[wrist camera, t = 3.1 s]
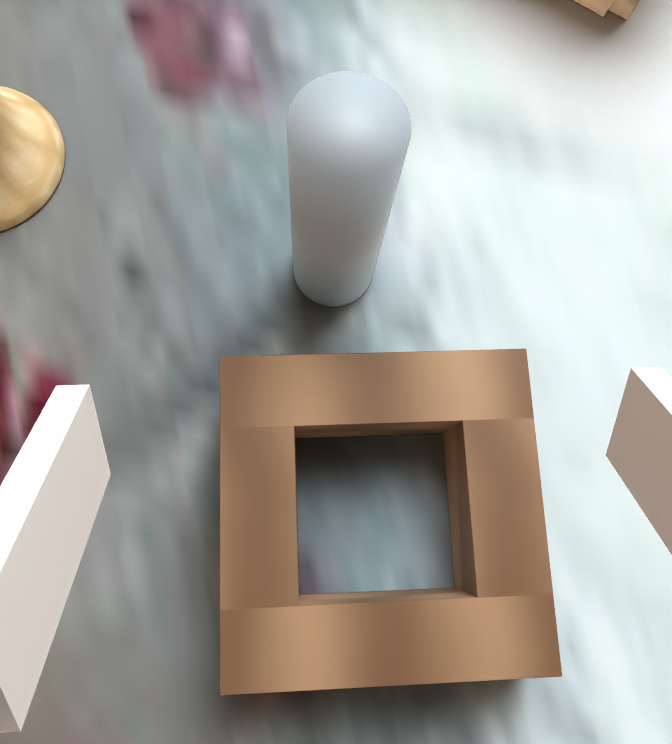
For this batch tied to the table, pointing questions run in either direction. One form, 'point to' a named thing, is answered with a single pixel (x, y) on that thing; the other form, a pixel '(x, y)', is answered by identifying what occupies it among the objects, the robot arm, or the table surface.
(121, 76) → the table surface
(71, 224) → the table surface
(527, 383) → the socket
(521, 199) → the table surface
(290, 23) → the table surface
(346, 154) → the peg
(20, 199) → the hand bell
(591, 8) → the wooden tray
